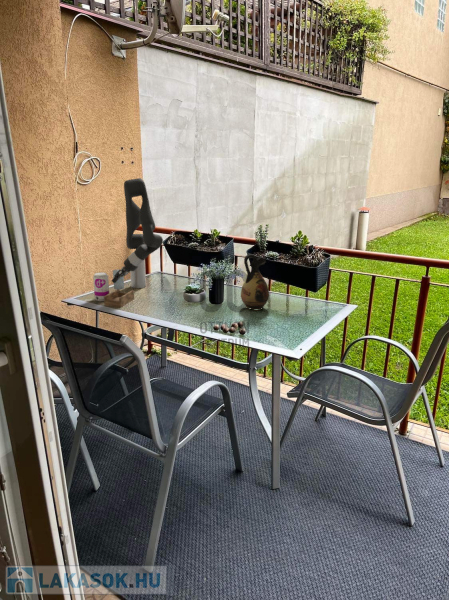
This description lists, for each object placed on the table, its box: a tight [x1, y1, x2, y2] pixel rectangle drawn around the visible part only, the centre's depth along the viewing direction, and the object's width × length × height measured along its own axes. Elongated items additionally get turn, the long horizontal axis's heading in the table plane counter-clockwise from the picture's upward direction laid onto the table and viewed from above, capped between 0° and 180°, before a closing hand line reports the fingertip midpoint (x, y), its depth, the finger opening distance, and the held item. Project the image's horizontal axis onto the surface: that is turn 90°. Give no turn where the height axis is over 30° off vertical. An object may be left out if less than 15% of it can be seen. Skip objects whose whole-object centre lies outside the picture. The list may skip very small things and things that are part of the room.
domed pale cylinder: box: [112, 268, 125, 290], centre depth 246 cm, size 6×6×10 cm
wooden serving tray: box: [103, 289, 135, 308], centre depth 249 cm, size 16×10×5 cm, turn 165°
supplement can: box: [92, 271, 110, 302], centre depth 252 cm, size 8×8×15 cm
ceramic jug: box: [240, 253, 270, 309], centre depth 239 cm, size 17×16×30 cm
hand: (115, 280), depth 246 cm, fingers closed on domed pale cylinder, 5 cm apart
